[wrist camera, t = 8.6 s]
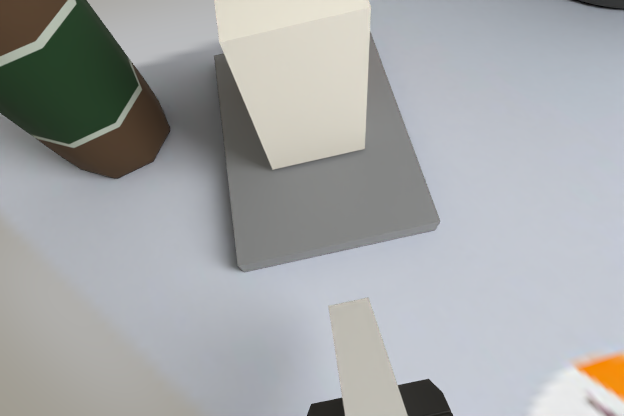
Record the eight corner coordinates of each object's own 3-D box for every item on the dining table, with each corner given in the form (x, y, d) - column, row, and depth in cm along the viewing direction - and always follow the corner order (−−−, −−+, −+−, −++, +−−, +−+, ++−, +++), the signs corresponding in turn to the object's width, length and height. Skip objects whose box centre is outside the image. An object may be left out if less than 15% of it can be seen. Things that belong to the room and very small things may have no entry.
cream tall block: (350, 100, 25) (347, -56, 16) (364, 148, 23) (371, 7, 14) (263, 119, 25) (211, -23, 16) (272, 169, 23) (219, 42, 14)
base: (365, 36, 29) (366, 20, 28) (435, 230, 22) (440, 221, 21) (220, 70, 30) (214, 55, 28) (244, 272, 23) (237, 266, 21)
